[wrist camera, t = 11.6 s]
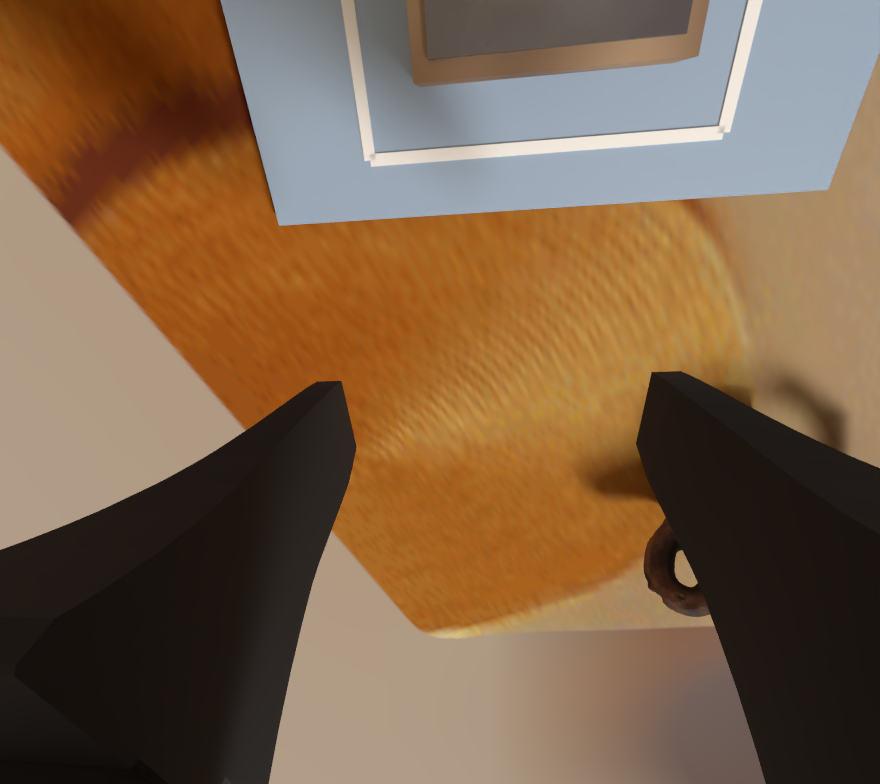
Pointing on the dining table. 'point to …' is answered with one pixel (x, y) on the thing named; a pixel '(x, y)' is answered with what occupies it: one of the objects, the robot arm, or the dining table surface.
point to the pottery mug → (670, 574)
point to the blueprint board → (545, 100)
